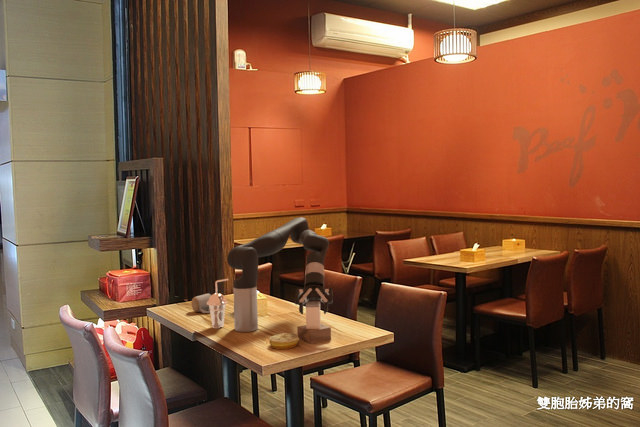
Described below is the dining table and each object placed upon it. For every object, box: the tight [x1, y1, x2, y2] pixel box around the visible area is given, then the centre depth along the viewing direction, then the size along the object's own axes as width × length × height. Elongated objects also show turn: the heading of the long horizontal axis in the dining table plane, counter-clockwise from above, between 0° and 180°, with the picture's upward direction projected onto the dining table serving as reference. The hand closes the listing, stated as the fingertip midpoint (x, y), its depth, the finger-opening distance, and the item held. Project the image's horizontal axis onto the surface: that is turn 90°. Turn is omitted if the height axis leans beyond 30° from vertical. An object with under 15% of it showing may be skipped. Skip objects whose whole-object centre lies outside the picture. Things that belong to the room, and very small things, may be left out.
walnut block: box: [296, 323, 332, 344], centre depth 215 cm, size 9×9×4 cm
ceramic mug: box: [191, 293, 212, 314], centre depth 264 cm, size 11×8×8 cm
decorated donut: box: [268, 332, 300, 350], centre depth 208 cm, size 10×11×4 cm
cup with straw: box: [207, 278, 230, 329], centre depth 236 cm, size 8×9×20 cm
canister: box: [305, 301, 322, 329], centre depth 215 cm, size 5×5×9 cm
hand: (313, 312), depth 213 cm, fingers open, 8 cm apart
